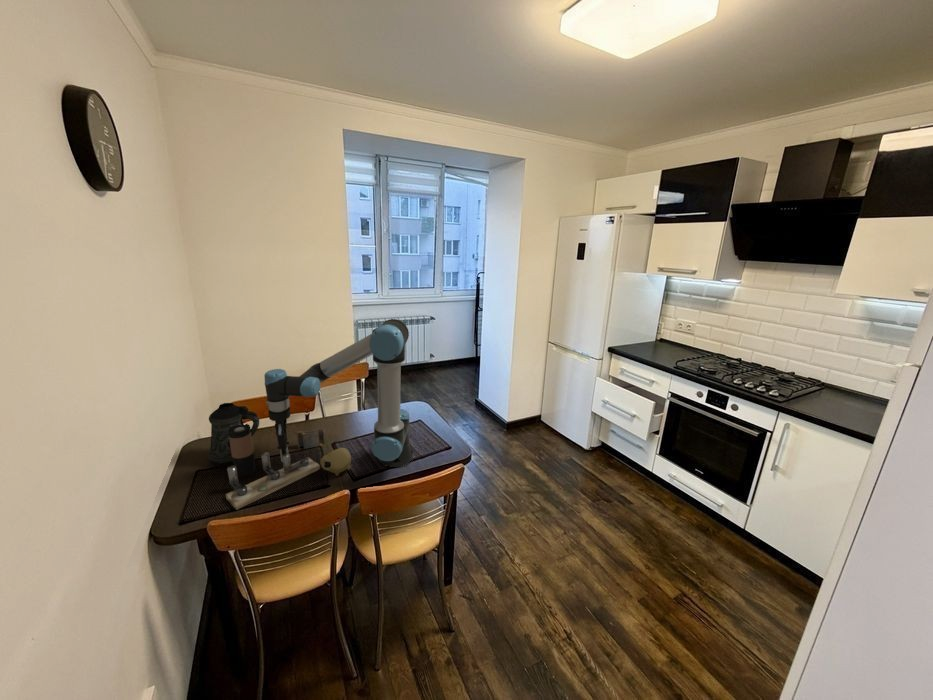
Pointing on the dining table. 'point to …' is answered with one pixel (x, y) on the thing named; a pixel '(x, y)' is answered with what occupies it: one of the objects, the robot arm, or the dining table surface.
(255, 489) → the coat hook board
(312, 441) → the grey brown upright panel
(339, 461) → the toy pig
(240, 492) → the grey metal coat hook
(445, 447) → the dining table surface
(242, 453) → the travel mug
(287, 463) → the grey coat hook
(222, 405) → the beer stein
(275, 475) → the grey metal hook
